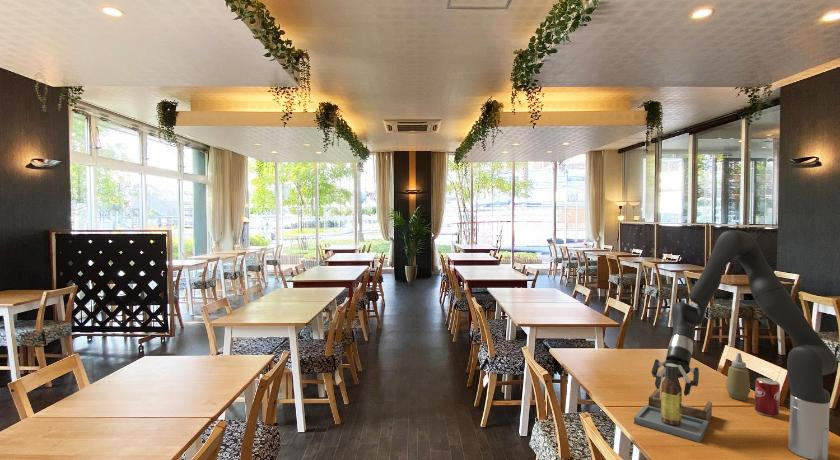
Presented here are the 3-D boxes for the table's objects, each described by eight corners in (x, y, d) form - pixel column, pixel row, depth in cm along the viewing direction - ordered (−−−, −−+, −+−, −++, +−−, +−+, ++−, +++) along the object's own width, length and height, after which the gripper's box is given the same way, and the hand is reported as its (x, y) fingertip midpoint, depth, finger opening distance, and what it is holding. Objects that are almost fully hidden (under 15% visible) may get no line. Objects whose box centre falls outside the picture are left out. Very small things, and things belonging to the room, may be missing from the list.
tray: (708, 427, 157) (708, 421, 157) (700, 442, 146) (700, 435, 146) (645, 410, 170) (645, 404, 170) (633, 423, 159) (634, 417, 159)
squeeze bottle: (720, 395, 186) (722, 351, 185) (733, 392, 189) (734, 349, 188) (742, 403, 178) (743, 357, 178) (754, 399, 182) (756, 355, 181)
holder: (711, 415, 166) (712, 402, 166) (705, 426, 158) (706, 411, 158) (656, 401, 179) (656, 389, 178) (648, 410, 170) (648, 397, 170)
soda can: (756, 414, 168) (757, 382, 168) (752, 407, 174) (753, 376, 174) (781, 418, 165) (782, 385, 164) (776, 411, 171) (777, 379, 171)
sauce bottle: (683, 427, 154) (685, 369, 154) (663, 425, 155) (665, 367, 155) (677, 419, 161) (679, 363, 160) (657, 417, 162) (659, 361, 161)
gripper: (656, 341, 168) (647, 380, 160) (701, 349, 159) (693, 391, 151) (659, 352, 172) (650, 391, 164) (703, 360, 163) (696, 402, 155)
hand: (671, 391), depth 157 cm, fingers open, 8 cm apart
